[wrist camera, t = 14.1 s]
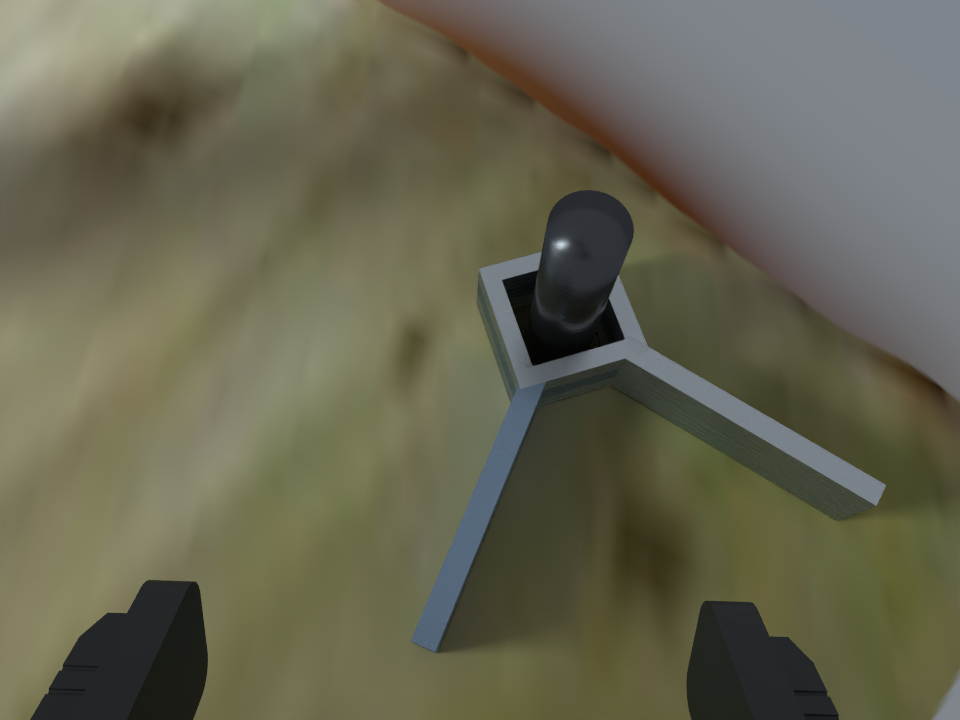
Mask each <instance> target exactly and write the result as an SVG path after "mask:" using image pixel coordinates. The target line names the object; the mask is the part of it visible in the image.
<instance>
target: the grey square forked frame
mask: <svg viewBox="0 0 960 720" xmlns="http://www.w3.org/2000/svg"><path fill="white" fill-rule="evenodd" d="M541 253H542V252H539V253H535V254H532V255H528V256H524V257H521V258H517V259H513V260H509V261H506V262H502V263H498V264H495V265H491V266H487V267H484V268H480V269H479V273H478V290H477V305H478V308H479V311H480V313H481V316H482V319H483V322H484V325H485V328H486V331H487V334H488V337H489V340H490V343H491V346H492V349H493V352H494V354H495V357H496V360H497V363H498V366H499V369H500V372H501V375H502V378H503V381H504V384H505V387H506V390H507V393H508V395H509V398H510V401H511V404H510V407H509V409H508V411H507V414H506V416H505V419H504V421H503V423H502V426H501V428H500V430H499V433H498V435H497V437H496V440H495V442H494V445H493V447H492V449H491V452H490V454H489V456H488V459H487V461H486V464H485V466H484V468H483V471H482V473H481V475H480V478H479V480H478V483H477V485H476V487H475V490H474V492H473V494H472V497H471V499H470V502H469V504H468V506H467V509H466V511H465V513H464V516H463V518H462V521H461V523H460V525H459V528H458V530H457V532H456V535H455V537H454V540H453V542H452V544H451V547H450V549H449V551H448V554H447V556H446V559H445V561H444V563H443V566H442V568H441V570H440V573H439V575H438V578H437V580H436V582H435V585H434V587H433V589H432V592H431V594H430V597H429V599H428V601H427V604H426V606H425V608H424V611H423V613H422V616H421V618H420V620H419V623H418V625H417V627H416V630H415V632H414V635H413V637H412V639H411V642H413V643H415V644H417V645H419V646H421V647H424V648H426V649H428V650H430V651H433V652H435V653H438V651H439V648H440V646H441V643H442V641H443V638H444V636H445V634H446V631H447V629H448V626H449V624H450V621H451V619H452V616H453V614H454V611H455V609H456V607H457V604H458V602H459V599H460V597H461V594H462V592H463V589H464V587H465V585H466V582H467V580H468V577H469V575H470V572H471V570H472V567H473V565H474V562H475V560H476V558H477V555H478V553H479V550H480V548H481V545H482V543H483V540H484V538H485V536H486V533H487V531H488V528H489V526H490V523H491V521H492V518H493V516H494V513H495V511H496V509H497V506H498V504H499V501H500V499H501V496H502V494H503V491H504V489H505V487H506V484H507V482H508V479H509V477H510V474H511V472H512V469H513V467H514V464H515V462H516V460H517V457H518V455H519V452H520V450H521V447H522V445H523V442H524V440H525V438H526V435H527V433H528V430H529V428H530V425H531V423H532V420H533V418H534V415H535V413H536V411H537V408H538V407H539V406H543V405H546V404H550V403H553V402H556V401H560V400H563V399H566V398H570V397H573V396H577V395H580V394H583V393H587V392H590V391H593V390H597V389H600V388H604V387H607V386H612V387H614V388H615V389H617V390H619V391H621V392H622V393H624V394H626V395H627V396H629V397H631V398H632V399H634V400H636V401H637V402H639V403H641V404H642V405H644V406H646V407H647V408H649V409H651V410H652V411H654V412H656V413H657V414H659V415H661V416H663V417H664V418H666V419H668V420H669V421H671V422H673V423H674V424H676V425H678V426H679V427H681V428H683V429H684V430H686V431H688V432H689V433H691V434H693V435H694V436H696V437H698V438H699V439H701V440H703V441H704V442H706V443H708V444H710V445H711V446H713V447H715V448H716V449H718V450H720V451H721V452H723V453H725V454H726V455H728V456H730V457H731V458H733V459H735V460H736V461H738V462H740V463H741V464H743V465H745V466H746V467H748V468H750V469H752V470H753V471H755V472H757V473H758V474H760V475H762V476H763V477H765V478H767V479H768V480H770V481H772V482H773V483H775V484H777V485H778V486H780V487H782V488H783V489H785V490H787V491H788V492H790V493H792V494H794V495H795V496H797V497H799V498H800V499H802V500H804V501H805V502H807V503H809V504H810V505H812V506H814V507H815V508H817V509H819V510H820V511H822V512H824V513H825V514H827V515H829V516H830V517H832V518H834V519H835V520H837V521H839V520H841V519H844V518H846V517H849V516H852V515H854V514H857V513H860V512H862V511H865V510H867V509H870V508H873V507H875V506H877V504H878V502H879V500H880V498H881V495H882V493H883V491H884V489H885V487H886V485H885V484H883V483H882V482H880V481H878V480H876V479H875V478H873V477H871V476H870V475H868V474H866V473H864V472H863V471H861V470H859V469H858V468H856V467H854V466H852V465H851V464H849V463H847V462H846V461H844V460H842V459H840V458H839V457H837V456H835V455H833V454H832V453H830V452H828V451H827V450H825V449H823V448H821V447H820V446H818V445H816V444H815V443H813V442H811V441H809V440H808V439H806V438H804V437H803V436H801V435H799V434H797V433H796V432H794V431H792V430H790V429H789V428H787V427H785V426H784V425H782V424H780V423H778V422H777V421H775V420H773V419H772V418H770V417H768V416H766V415H765V414H763V413H761V412H760V411H758V410H756V409H754V408H753V407H751V406H749V405H747V404H746V403H744V402H742V401H741V400H739V399H737V398H735V397H734V396H732V395H730V394H729V393H727V392H725V391H723V390H722V389H720V388H718V387H717V386H715V385H713V384H711V383H710V382H708V381H706V380H705V379H703V378H701V377H699V376H698V375H696V374H694V373H692V372H691V371H689V370H687V369H686V368H684V367H682V366H680V365H679V364H677V363H675V362H674V361H672V360H670V359H668V358H667V357H665V356H663V355H662V354H660V353H658V352H656V351H655V350H653V349H651V348H649V347H648V345H647V343H646V341H645V338H644V336H643V333H642V331H641V328H640V326H639V323H638V321H637V319H636V316H635V314H634V311H633V309H632V306H631V304H630V302H629V299H628V297H627V294H626V292H625V289H624V287H623V284H622V282H621V280H620V277H619V275H618V277H617V279H616V282H615V284H614V287H613V289H612V292H611V294H610V297H609V299H608V302H607V304H606V307H605V309H604V312H603V314H602V316H601V319H600V321H599V324H598V326H597V329H596V331H597V334H598V336H599V339H600V342H601V344H602V347H598V348H595V349H591V350H588V351H584V352H581V353H577V354H574V355H570V356H567V357H564V358H560V359H557V360H553V361H550V362H546V363H543V364H539V365H536V366H534V365H532V363H531V361H530V358H529V355H528V352H527V349H526V347H525V344H524V341H523V338H522V335H521V333H520V330H519V327H518V324H517V321H516V319H515V316H514V313H513V310H512V309H513V308H517V307H521V306H524V305H528V304H531V303H532V299H533V294H534V289H535V284H536V279H537V274H538V269H539V264H540V258H541Z"/></svg>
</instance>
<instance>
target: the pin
mask: <svg viewBox="0 0 960 720" xmlns="http://www.w3.org/2000/svg"><path fill="white" fill-rule="evenodd" d="M633 233H634V229H633V222H632V219H631V216H630V214H629V212H628V211H627V209H626V208H625V207H624V206H623V205H622V204H621V203H620V202H619V201H618V200H617V199H615V198H614V197H612V196H610V195H608V194H605V193H603V192H599V191H592V190H584V191H578V192H574V193H571V194H569V195H567V196H565V197H563V198H562V199H561V200H560V201H558V202H557V203H556V205H555V206H554V207H553V209H552V210H551V212H550V215H549V218H548V223H547V228H546V233H545V238H544V243H543V248H542V253H541V258H540V264H539V269H538V274H537V279H536V284H535V289H534V294H533V299H532V304H531V310H530V315H529V320H528V325H527V330H526V335H525V347H526V349H527V352H528V355H529V357H530V359H531V360H532V361H533V362H534V363H535V364H536V365H539V364H543V363H546V362H550V361H553V360H557V359H560V358H564V357H567V356H570V355H574V354H577V353H581V352H584V351H588V349H589V346H590V344H591V341H592V339H593V336H594V334H595V331H596V329H597V326H598V324H599V321H600V319H601V316H602V314H603V312H604V309H605V307H606V304H607V302H608V299H609V297H610V294H611V292H612V289H613V287H614V284H615V282H616V279H617V277H618V274H619V272H620V269H621V267H622V265H623V262H624V260H625V257H626V255H627V252H628V250H629V247H630V245H631V242H632V239H633Z"/></svg>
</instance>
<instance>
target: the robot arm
mask: <svg viewBox="0 0 960 720" xmlns="http://www.w3.org/2000/svg"><path fill="white" fill-rule="evenodd" d="M207 667H208V653H207V644H206V636H205V628H204V620H203V612H202V603H201V595H200V589H199V586H198V584H197V583H196V582H191V581H162V580H148V581H146V582H145V583H144V584H143V585H142V587H141V588H140V590H139V592H138V594H137V596H136V598H135V600H134V601H133V603H132V605H131V607H130V609H129V611H128V612H127V613H107V614H106V615H104V616H103V617H102V618H101V619H100V620H99V621H97V622H96V623H95V624H94V625H93V626H92V627H90V628H89V629H88V630H87V631H86V632H85V633H83V634H82V635H81V636H80V637H79V638H78V640H77V642H76V644H75V645H74V647H73V649H72V650H71V652H70V654H69V655H68V657H67V659H66V660H65V662H64V664H63V669H62V671H59V672H58V674H57V676H56V677H55V679H54V681H53V682H52V684H51V686H50V687H49V693H48V694H45V696H44V697H43V699H42V701H41V703H40V704H39V706H38V708H37V709H36V711H35V713H34V714H33V716H32V718H31V719H30V720H193V718H194V716H195V713H196V710H197V708H198V705H199V702H200V700H201V697H202V694H203V691H204V687H205V682H206V676H207ZM687 700H688V707H689V712H690V716H691V719H692V720H839V718H838V713H837V711H836V709H835V707H834V705H833V702H832V700H831V698H830V697H828V696H827V690H826V688H825V686H824V684H823V682H822V680H821V678H820V676H819V674H818V672H817V670H816V668H815V665H814V663H813V662H812V661H811V660H810V659H809V658H808V657H807V656H806V655H805V654H804V653H803V652H802V651H801V650H800V649H799V648H798V647H797V646H796V645H795V644H794V643H793V642H792V641H791V640H790V639H789V638H788V637H769V635H768V632H767V630H766V628H765V625H764V623H763V621H762V619H761V616H760V614H759V612H758V610H757V608H756V606H755V605H754V604H753V603H751V602H727V601H705V602H703V604H702V606H701V609H700V613H699V618H698V623H697V628H696V632H695V637H694V642H693V647H692V652H691V657H690V661H689V666H688V672H687Z"/></svg>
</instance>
